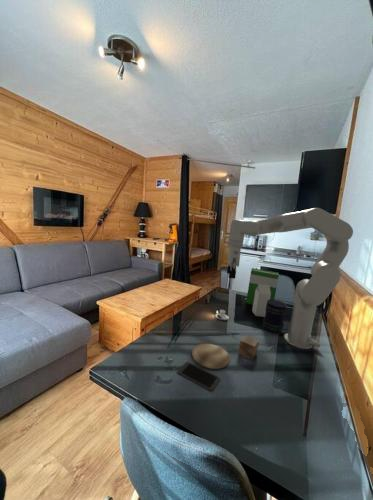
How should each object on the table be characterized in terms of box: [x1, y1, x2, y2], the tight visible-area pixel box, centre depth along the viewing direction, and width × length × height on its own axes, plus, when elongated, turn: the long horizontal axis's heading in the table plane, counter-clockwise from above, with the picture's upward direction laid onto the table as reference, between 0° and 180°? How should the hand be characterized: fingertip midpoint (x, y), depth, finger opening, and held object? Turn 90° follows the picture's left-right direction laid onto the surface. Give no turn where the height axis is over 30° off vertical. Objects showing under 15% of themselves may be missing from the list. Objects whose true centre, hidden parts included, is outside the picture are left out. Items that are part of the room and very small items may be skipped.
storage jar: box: [262, 299, 288, 335], centre depth 116 cm, size 10×10×15 cm
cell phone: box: [176, 361, 221, 392], centre depth 76 cm, size 7×14×1 cm, turn 59°
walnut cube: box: [238, 334, 260, 360], centre depth 92 cm, size 6×6×6 cm
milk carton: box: [251, 284, 271, 318], centre depth 134 cm, size 7×7×19 cm
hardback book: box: [245, 267, 280, 306], centre depth 152 cm, size 18×7×24 cm, turn 70°
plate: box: [191, 343, 231, 370], centre depth 87 cm, size 15×15×1 cm
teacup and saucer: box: [214, 309, 230, 321], centre depth 125 cm, size 9×8×4 cm
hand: (230, 275), depth 115 cm, fingers open, 9 cm apart
